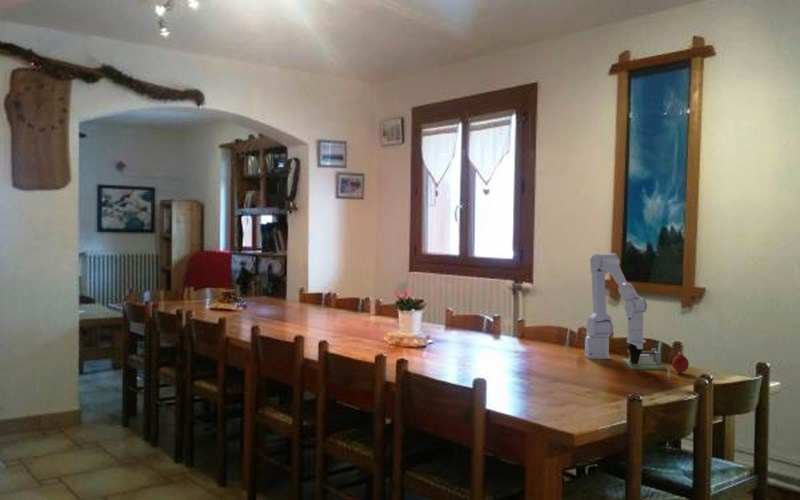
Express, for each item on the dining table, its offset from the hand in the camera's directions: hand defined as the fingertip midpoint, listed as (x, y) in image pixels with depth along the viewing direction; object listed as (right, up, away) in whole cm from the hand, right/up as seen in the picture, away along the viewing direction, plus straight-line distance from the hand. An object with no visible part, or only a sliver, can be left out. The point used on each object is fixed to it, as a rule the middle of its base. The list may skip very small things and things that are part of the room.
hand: (634, 363), depth 263 cm
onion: (+14, -3, -8) cm, 17 cm away
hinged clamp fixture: (+5, -2, +6) cm, 8 cm away
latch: (0, -1, +4) cm, 4 cm away
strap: (+5, +3, +6) cm, 8 cm away
